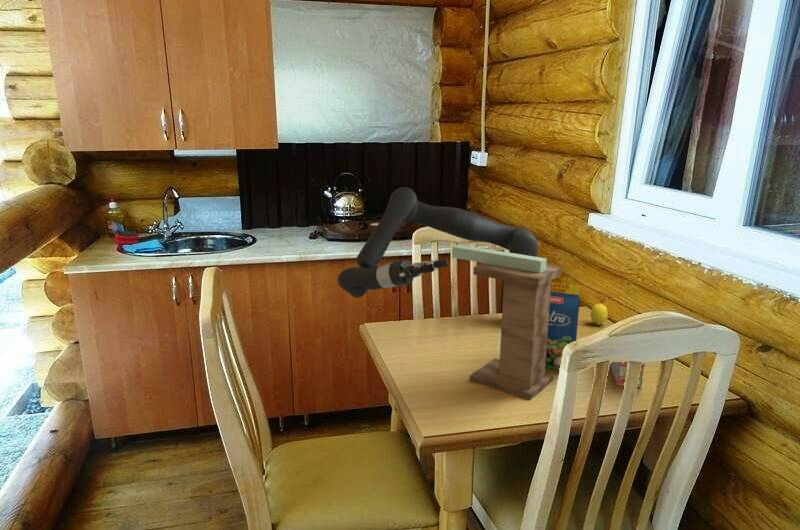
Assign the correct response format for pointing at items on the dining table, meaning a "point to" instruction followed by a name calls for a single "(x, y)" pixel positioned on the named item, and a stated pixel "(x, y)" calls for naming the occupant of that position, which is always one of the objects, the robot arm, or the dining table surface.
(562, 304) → the blue food package
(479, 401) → the dining table surface
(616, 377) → the stack of blocks
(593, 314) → the lemon
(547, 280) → the walnut stand
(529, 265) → the sage bar
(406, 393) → the dining table surface
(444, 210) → the robot arm
